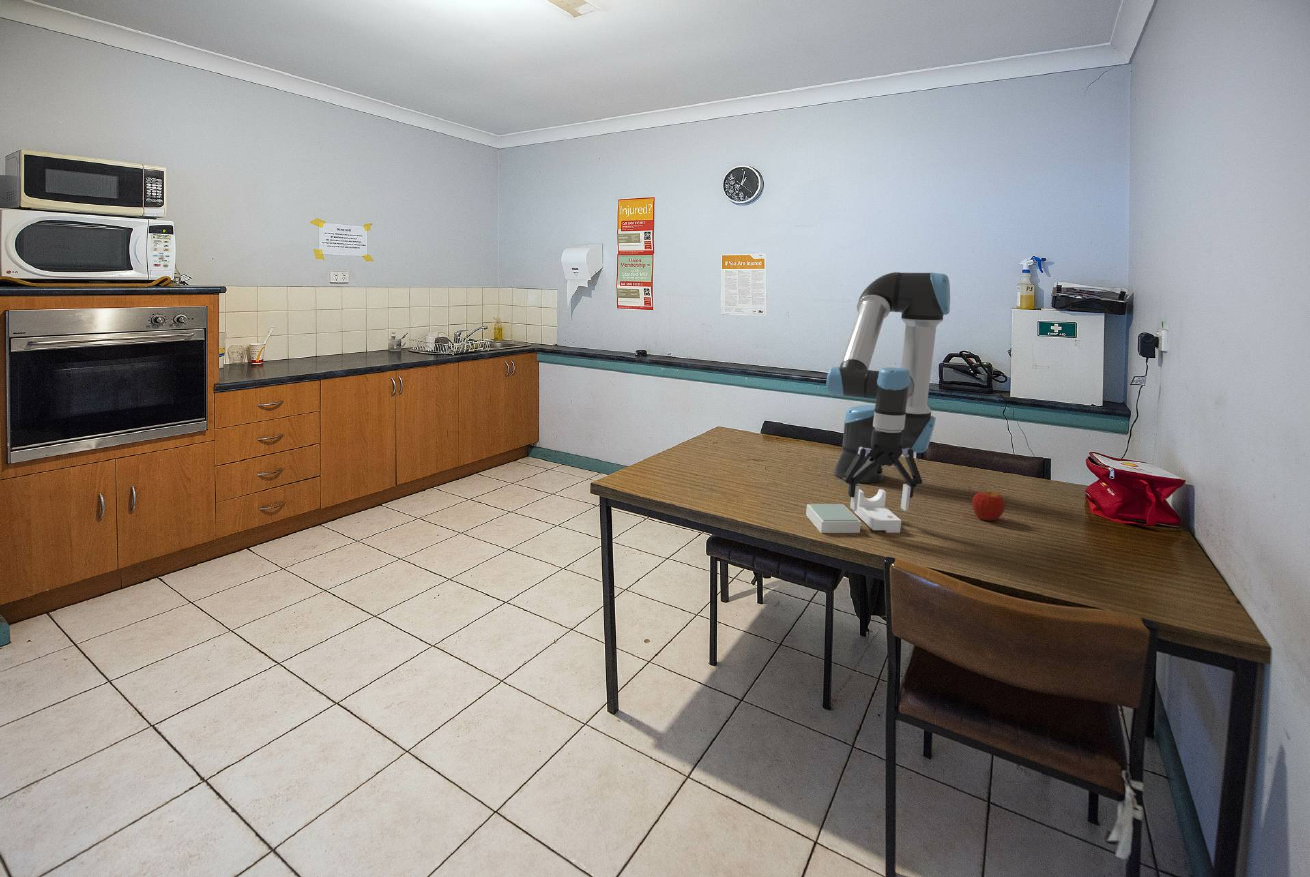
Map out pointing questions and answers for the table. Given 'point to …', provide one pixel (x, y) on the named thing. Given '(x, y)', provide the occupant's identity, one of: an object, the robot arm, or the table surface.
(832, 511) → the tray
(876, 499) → the bracket
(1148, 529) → the table surface
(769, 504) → the table surface
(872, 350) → the robot arm
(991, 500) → the apple
